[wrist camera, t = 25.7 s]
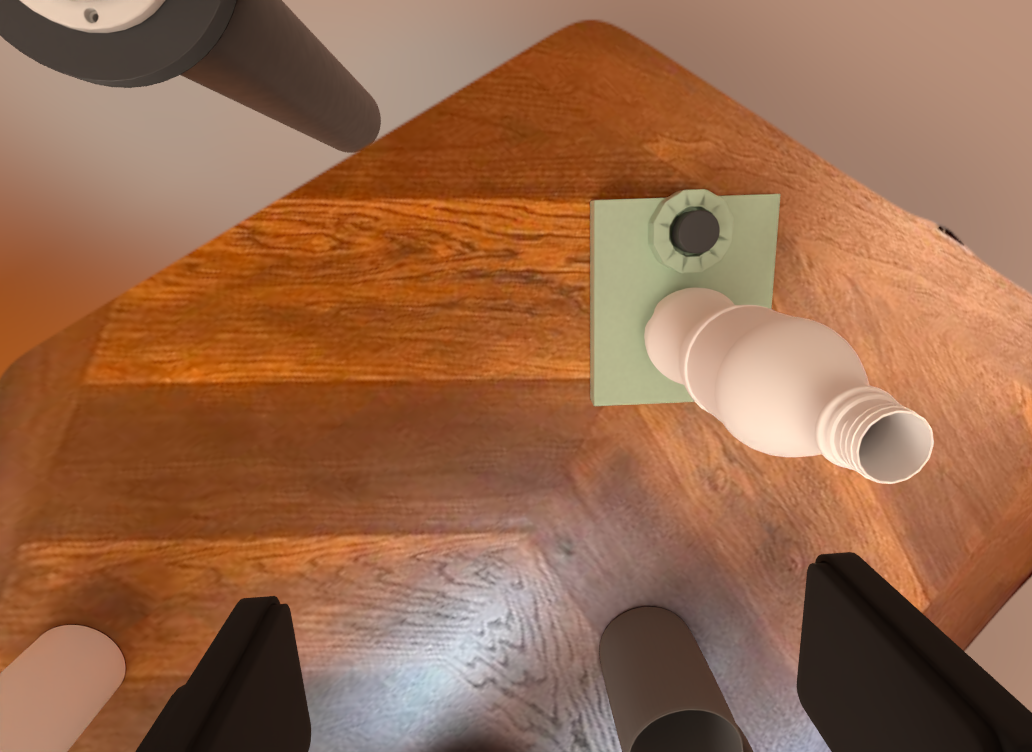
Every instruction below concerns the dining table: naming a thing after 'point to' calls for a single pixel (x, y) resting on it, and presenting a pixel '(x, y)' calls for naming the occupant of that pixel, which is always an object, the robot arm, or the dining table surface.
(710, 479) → the dining table surface
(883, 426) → the water bottle
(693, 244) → the button
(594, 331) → the scale
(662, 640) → the mug
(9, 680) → the cup
